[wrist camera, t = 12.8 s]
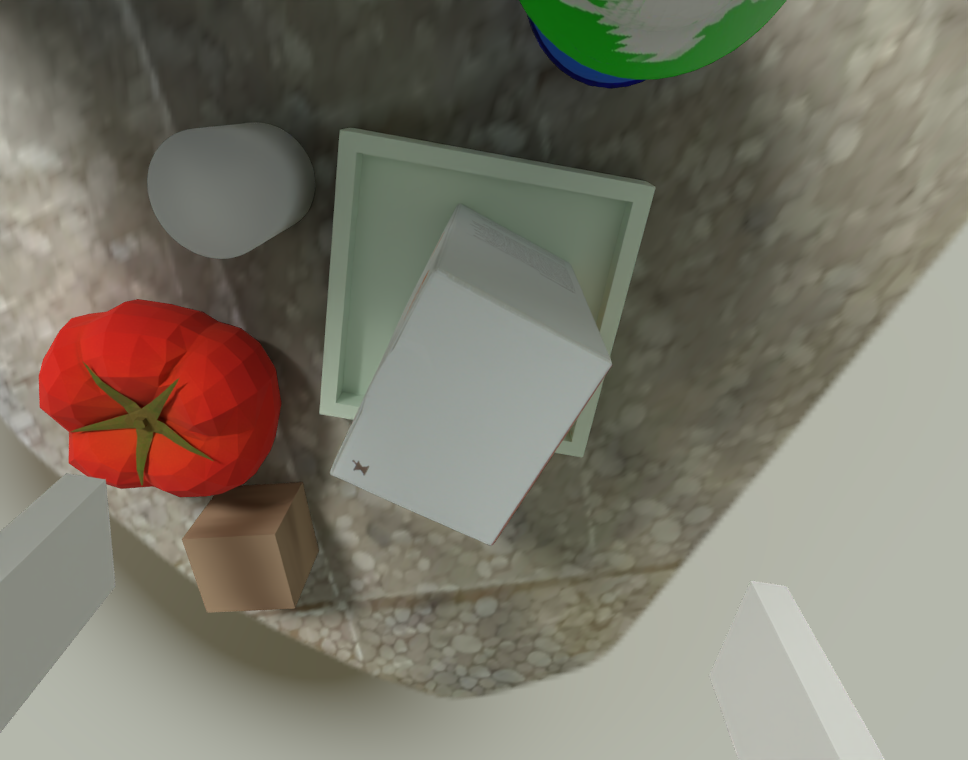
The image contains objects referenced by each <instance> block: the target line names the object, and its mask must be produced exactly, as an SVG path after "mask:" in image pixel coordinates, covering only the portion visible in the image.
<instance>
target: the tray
mask: <svg viewBox="0 0 968 760" xmlns="http://www.w3.org/2000/svg"><path fill="white" fill-rule="evenodd" d="M655 188H656V187H655V186H653V185H652V184H650V183H648V182H647V181H643V180H637V179H632V178H626V177H621V176H615V175H610V174H604V173H599V172H593V171H588V170H582V169H577V168H571V167H566V166H560V165H555V164H549V163H544V162H538V161H533V160H527V159H522V158H516V157H511V156H505V155H500V154H494V153H489V152H483V151H478V150H472V149H467V148H461V147H456V146H450V145H445V144H439V143H434V142H428V141H423V140H417V139H412V138H406V137H401V136H395V135H390V134H384V133H379V132H373V131H368V130H362V129H357V128H346V129H341V130H340V133H339V147H338V161H337V175H336V189H335V203H334V217H333V231H332V245H331V259H330V272H329V286H328V300H327V314H326V328H325V342H324V356H323V370H322V384H321V398H320V412H319V414H321V415H327V416H333V417H340V418H346V419H352V420H353V419H354V417H355V415H356V413H357V411H358V409H359V407H360V404H361V402H362V400H363V398H364V396H365V394H366V392H367V390H368V387H369V385H370V383H371V381H372V379H373V377H374V375H375V373H376V370H377V368H378V366H379V364H380V362H381V360H382V358H383V355H384V353H385V351H386V349H387V347H388V344H389V342H390V340H391V338H392V335H393V333H394V331H395V328H396V326H397V324H398V322H399V320H400V318H401V315H402V313H403V311H404V309H405V307H406V305H407V303H408V301H409V299H410V297H411V295H412V293H413V291H414V289H415V287H416V285H417V283H418V281H419V279H420V277H421V275H422V273H423V271H424V269H425V267H426V265H427V263H428V261H429V259H430V257H431V255H432V253H433V251H434V249H435V247H436V245H437V243H438V241H439V239H440V237H441V235H442V233H443V231H444V229H445V227H446V225H447V223H448V222H449V220H450V218H451V216H452V214H453V212H454V210H455V208H456V207H457V205H458V204H463V205H465V206H467V207H468V208H470V209H472V210H474V211H476V212H477V213H479V214H481V215H483V216H485V217H487V218H488V219H490V220H492V221H494V222H496V223H497V224H499V225H501V226H503V227H505V228H507V229H508V230H510V231H512V232H514V233H516V234H518V235H519V236H521V237H523V238H525V239H527V240H529V241H530V242H532V243H534V244H536V245H538V246H539V247H541V248H543V249H545V250H547V251H549V252H550V253H552V254H554V255H556V256H558V257H560V258H561V259H563V260H565V261H567V262H569V263H570V264H571V265H572V268H573V270H574V272H575V275H576V277H577V280H578V282H579V284H580V286H581V289H582V291H583V294H584V296H585V299H586V301H587V304H588V306H589V308H590V311H591V313H592V315H593V318H594V320H595V323H596V325H597V327H598V330H599V332H600V334H601V337H602V339H603V342H604V344H605V347H606V349H607V352H608V354H609V356H610V355H611V352H612V348H613V344H614V340H615V337H616V333H617V329H618V326H619V322H620V318H621V314H622V311H623V307H624V303H625V300H626V296H627V292H628V288H629V285H630V281H631V277H632V273H633V270H634V266H635V262H636V259H637V255H638V251H639V247H640V244H641V240H642V236H643V233H644V229H645V225H646V221H647V218H648V214H649V210H650V207H651V203H652V199H653V195H654V192H655ZM604 378H605V377H604ZM603 381H604V379H603V380H602V382H601V383H600V385H599V386H598V388H597V389H596V391H595V392H594V394H593V395H592V397H591V398H590V400H589V402H588V403H587V405H586V406H585V408H584V409H583V411H582V412H581V414H580V415H579V417H578V418H577V420H576V421H575V423H574V424H573V425H572V427H571V429H570V430H569V432H568V433H567V435H566V437H565V438H564V440H563V441H562V443H561V444H560V445H559V447H558V448H557V450H556V451H555V453H558V454H564V455H570V456H576V457H583V456H584V452H585V448H586V444H587V441H588V437H589V433H590V430H591V426H592V422H593V418H594V415H595V411H596V407H597V404H598V400H599V396H600V392H601V389H602V385H603Z"/></svg>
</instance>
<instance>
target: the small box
mask: <svg viewBox="0 0 968 760" xmlns="http://www.w3.org/2000/svg"><path fill="white" fill-rule="evenodd" d="M612 366H613V365H612V361H611V358H610V356H609V354H608V352H607V349H606V347H605V344H604V342H603V339H602V337H601V334H600V332H599V330H598V327H597V325H596V323H595V320H594V318H593V315H592V313H591V311H590V308H589V306H588V304H587V301H586V299H585V296H584V294H583V291H582V289H581V286H580V284H579V282H578V280H577V277H576V275H575V272H574V270H573V268H572V265H571V264H570V263H569V262H567V261H565V260H563V259H561V258H560V257H558V256H556V255H554V254H552V253H550V252H549V251H547V250H545V249H543V248H541V247H539V246H538V245H536V244H534V243H532V242H530V241H529V240H527V239H525V238H523V237H521V236H519V235H518V234H516V233H514V232H512V231H510V230H508V229H507V228H505V227H503V226H501V225H499V224H497V223H496V222H494V221H492V220H490V219H488V218H487V217H485V216H483V215H481V214H479V213H477V212H476V211H474V210H472V209H470V208H468V207H467V206H465V205H463V204H458V205H457V207H456V208H455V210H454V212H453V214H452V216H451V218H450V220H449V222H448V223H447V225H446V227H445V229H444V231H443V233H442V235H441V237H440V239H439V241H438V243H437V245H436V247H435V249H434V251H433V253H432V255H431V257H430V259H429V261H428V263H427V265H426V267H425V269H424V271H423V273H422V275H421V277H420V279H419V281H418V283H417V285H416V287H415V289H414V291H413V293H412V295H411V297H410V299H409V301H408V303H407V305H406V307H405V309H404V311H403V313H402V315H401V318H400V320H399V322H398V324H397V326H396V328H395V331H394V333H393V335H392V338H391V340H390V342H389V344H388V347H387V349H386V351H385V353H384V355H383V358H382V360H381V362H380V364H379V366H378V368H377V370H376V373H375V375H374V377H373V379H372V381H371V383H370V385H369V387H368V390H367V392H366V394H365V396H364V398H363V400H362V402H361V404H360V407H359V409H358V411H357V413H356V415H355V417H354V419H353V422H352V424H351V426H350V428H349V430H348V432H347V434H346V437H345V439H344V441H343V443H342V445H341V447H340V449H339V452H338V454H337V456H336V458H335V461H334V463H333V465H332V467H331V470H330V474H331V475H332V476H334V477H337V478H339V479H342V480H344V481H346V482H348V483H351V484H353V485H355V486H357V487H359V488H361V489H363V490H366V491H368V492H370V493H372V494H374V495H376V496H379V497H381V498H383V499H385V500H388V501H390V502H392V503H394V504H397V505H399V506H401V507H403V508H406V509H408V510H410V511H412V512H414V513H417V514H419V515H421V516H424V517H426V518H428V519H430V520H433V521H435V522H438V523H440V524H442V525H444V526H446V527H449V528H451V529H453V530H455V531H458V532H460V533H462V534H465V535H467V536H469V537H472V538H474V539H477V540H479V541H481V542H483V543H485V544H487V545H493V544H494V543H495V542H496V540H497V539H498V537H499V536H500V534H501V533H502V531H503V530H504V528H505V527H506V525H507V524H508V522H509V521H510V519H511V517H512V516H513V514H514V513H515V511H516V510H517V508H518V507H519V505H520V504H521V502H522V501H523V499H524V498H525V496H526V495H527V493H528V492H529V490H530V489H531V487H532V486H533V484H534V483H535V481H536V480H537V478H538V477H539V475H540V474H541V472H542V471H543V469H544V468H545V466H546V465H547V463H548V462H549V460H550V459H551V457H552V456H553V454H554V453H555V451H556V450H557V448H558V447H559V445H560V444H561V443H562V441H563V440H564V438H565V437H566V435H567V433H568V432H569V430H570V429H571V427H572V425H573V424H574V423H575V421H576V420H577V418H578V417H579V415H580V414H581V412H582V411H583V409H584V408H585V406H586V405H587V403H588V402H589V400H590V398H591V397H592V395H593V394H594V392H595V391H596V389H597V388H598V386H599V385H600V383H601V382H602V380H603V379H604V377H605V376H606V374H607V373H608V371H609V370H610V368H611V367H612Z"/></svg>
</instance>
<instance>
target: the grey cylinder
mask: <svg viewBox="0 0 968 760" xmlns="http://www.w3.org/2000/svg"><path fill="white" fill-rule="evenodd" d="M147 187H148V195H149V199H150V203H151V206H152V209H153V211H154V213H155V215H156V217H157V219H158V221H159V222H160V224H161V225H162V227H163V228H164V229H165V230H166V232H167V233H168V234H169V235H170V236H171V237H172V238H173V239H174V240H175V241H177V242H178V243H179V244H180V245H182V246H183V247H185V248H186V249H188V250H190V251H192V252H194V253H196V254H199V255H202V256H205V257H210V258H217V259H227V258H234V257H237V256H240V255H243V254H245V253H247V252H249V251H251V250H252V249H254V248H256V247H257V246H259V245H261V244H262V243H264V242H266V241H267V240H269V239H271V238H272V237H274V236H276V235H277V234H279V233H281V232H282V231H284V230H286V229H287V228H289V227H291V226H292V225H294V224H296V223H297V222H298V221H300V220H301V219H302V218H303V217H304V215H305V214H306V213H307V211H308V210H309V208H310V206H311V204H312V201H313V198H314V194H315V175H314V170H313V166H312V164H311V161H310V159H309V157H308V155H307V153H306V152H305V150H304V149H303V147H302V146H301V145H300V144H299V142H298V141H297V140H296V139H295V138H293V137H292V136H291V135H290V134H288V133H287V132H286V131H284V130H282V129H280V128H278V127H276V126H273V125H270V124H266V123H258V122H257V123H243V124H233V125H223V126H213V127H204V128H194V129H188V130H184V131H181V132H178V133H176V134H174V135H172V136H170V137H169V138H168V139H166V140H165V141H164V142H163V143H162V144H161V145H160V146H159V147H158V149H157V150H156V152H155V153H154V155H153V158H152V160H151V162H150V166H149V169H148V176H147Z"/></svg>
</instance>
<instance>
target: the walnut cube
mask: <svg viewBox="0 0 968 760" xmlns="http://www.w3.org/2000/svg"><path fill="white" fill-rule="evenodd" d="M182 541H183V544H184V547H185V550H186V553H187V555H188V558H189V561H190V564H191V567H192V570H193V573H194V576H195V579H196V582H197V585H198V588H199V590H200V593H201V596H202V599H203V602H204V605H205V608H206V611H207V612H227V611H228V612H229V611H250V610H272V609H294V608H295V607H296V605H297V602H298V600H299V597H300V595H301V593H302V590H303V588H304V585H305V583H306V580H307V578H308V576H309V573H310V571H311V568H312V566H313V564H314V561H315V559H316V556H317V554H318V552H319V549H318V545H317V540H316V536H315V532H314V528H313V524H312V519H311V515H310V511H309V507H308V503H307V499H306V494H305V490H304V486H303V482H296V483H279V484H263V485H246V486H237V487H235V488H233V489H231V490H229V491H226V492H224V493H222V494H217V495H214V496H213V498H212V499H211V500H210V502H209V503H208V505H207V506H206V507H205V509H204V510H203V511H202V513H201V514H200V515H199V517H198V518H197V520H196V521H195V522H194V524H193V525H192V526H191V528H190V529H189V530H188V532H187V533H186V535H185V536H184V537H183V539H182Z"/></svg>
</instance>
